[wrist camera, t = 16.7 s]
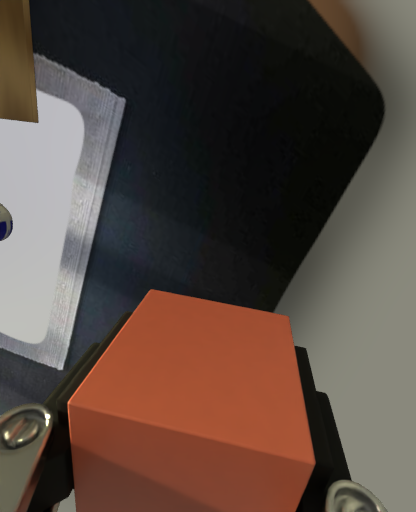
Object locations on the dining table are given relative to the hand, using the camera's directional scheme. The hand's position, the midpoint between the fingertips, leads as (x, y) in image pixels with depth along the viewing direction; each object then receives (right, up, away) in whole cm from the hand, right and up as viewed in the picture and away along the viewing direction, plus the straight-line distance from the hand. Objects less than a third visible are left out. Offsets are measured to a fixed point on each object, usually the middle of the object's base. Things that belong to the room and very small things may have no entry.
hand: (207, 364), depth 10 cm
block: (0, 0, 0) cm, 0 cm away
